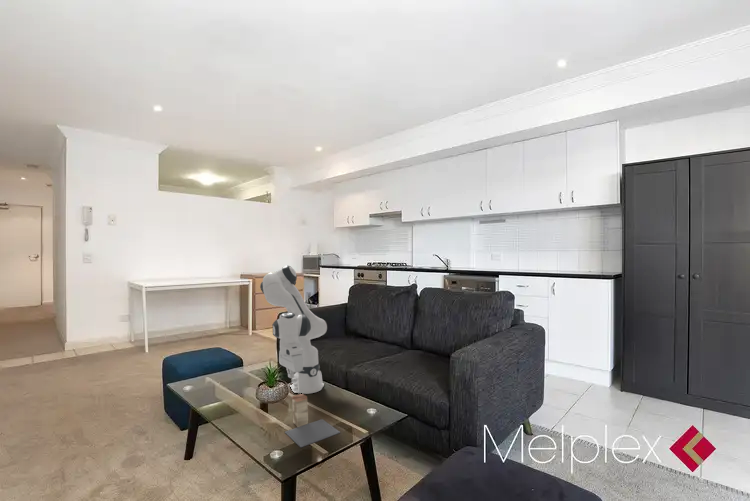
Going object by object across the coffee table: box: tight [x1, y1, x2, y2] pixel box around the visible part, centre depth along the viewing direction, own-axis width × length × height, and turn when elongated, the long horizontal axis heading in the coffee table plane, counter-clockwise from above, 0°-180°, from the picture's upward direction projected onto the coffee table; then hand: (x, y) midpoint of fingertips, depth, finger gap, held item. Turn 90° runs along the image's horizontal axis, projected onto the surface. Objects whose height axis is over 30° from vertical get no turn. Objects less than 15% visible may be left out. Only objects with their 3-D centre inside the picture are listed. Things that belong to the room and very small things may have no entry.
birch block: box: [291, 393, 309, 428], centre depth 165 cm, size 5×5×12 cm
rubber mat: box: [284, 418, 341, 448], centre depth 155 cm, size 16×18×1 cm
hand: (291, 377), depth 172 cm, fingers closed
